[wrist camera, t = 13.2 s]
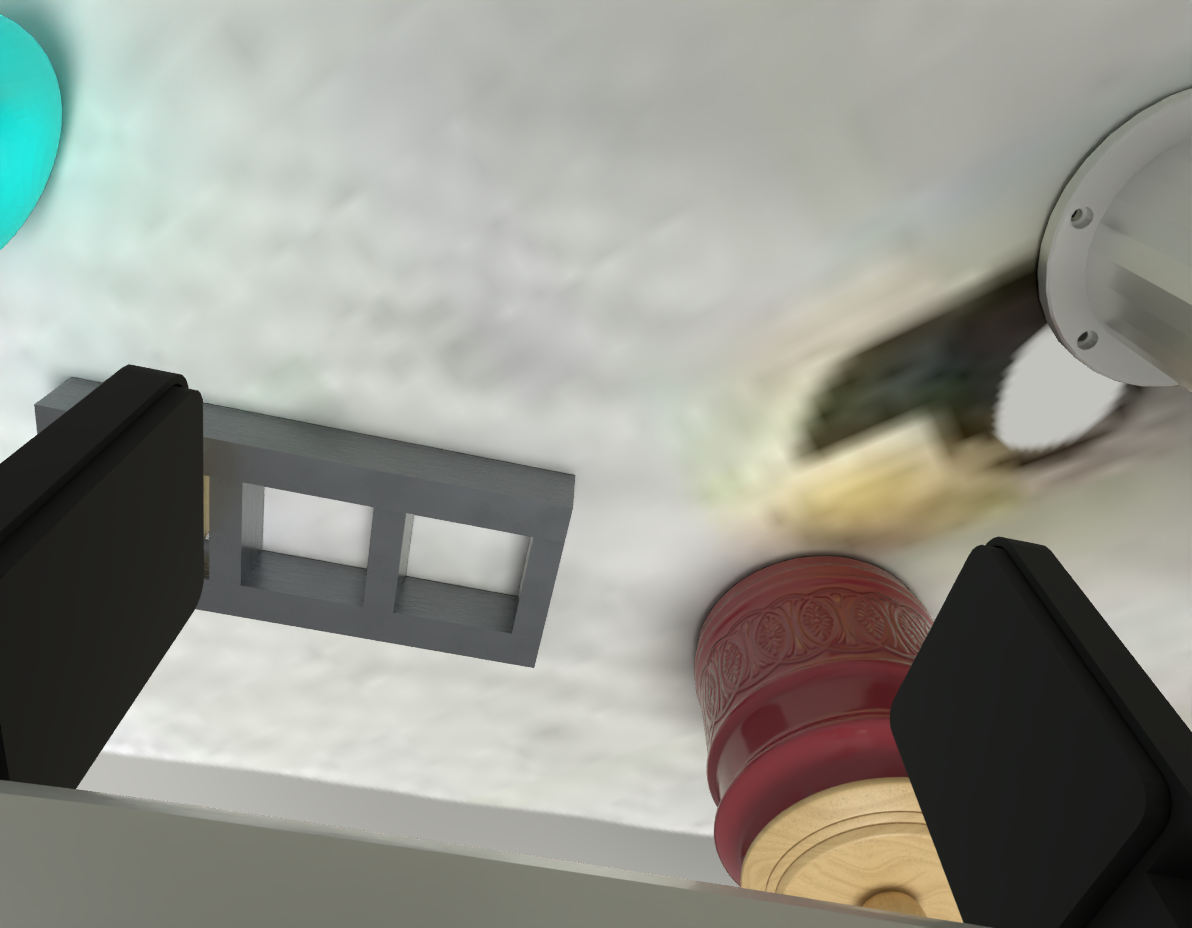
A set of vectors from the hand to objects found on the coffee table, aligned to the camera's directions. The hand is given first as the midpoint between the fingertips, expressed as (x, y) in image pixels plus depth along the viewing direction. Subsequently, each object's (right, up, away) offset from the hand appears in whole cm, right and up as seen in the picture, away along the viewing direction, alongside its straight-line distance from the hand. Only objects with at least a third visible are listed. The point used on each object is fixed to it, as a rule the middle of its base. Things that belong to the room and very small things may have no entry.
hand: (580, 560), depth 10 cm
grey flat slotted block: (-14, -1, +33) cm, 36 cm away
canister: (+12, -9, +37) cm, 40 cm away
